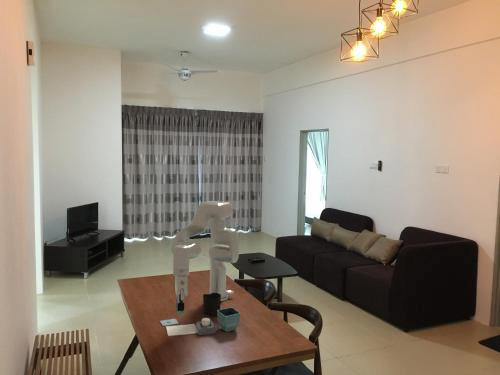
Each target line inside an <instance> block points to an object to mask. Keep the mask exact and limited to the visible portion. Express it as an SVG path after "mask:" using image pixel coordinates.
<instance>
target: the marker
mask: <svg viewBox="0 0 500 375" xmlns="http://www.w3.org/2000/svg"><path fill="white" fill-rule="evenodd" d="M179 296H181V295H179ZM179 299H180V298H179ZM176 300H177V303H178V297H177V296H176ZM176 314H181V315H183V314H184V311H177V310H176Z"/></svg>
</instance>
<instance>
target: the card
mask: <svg viewBox="0 0 500 375" xmlns="http://www.w3.org/2000/svg"><path fill="white" fill-rule="evenodd" d="M159 322H160V324H161V325H162V327H167V326H175V325H179V323H180V322H178V320H177V319H176V318H171V319H164V320H159Z"/></svg>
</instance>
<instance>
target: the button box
mask: <svg viewBox="0 0 500 375" xmlns="http://www.w3.org/2000/svg"><path fill="white" fill-rule="evenodd" d="M195 326H196V329H197V331H198V333H197V334H198V335H199V336H202V335H212V334H216V326H215V324H214V321H213V320H210V326H209V327H202V320H201V321H196V322H195Z"/></svg>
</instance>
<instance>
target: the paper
mask: <svg viewBox="0 0 500 375" xmlns="http://www.w3.org/2000/svg"><path fill="white" fill-rule="evenodd" d="M165 328H166V329H165V330H166V332H167V336H168V337H173V336H174V337H175V336H182V335H185V336H186V335H193V334H198V331H197V329H196V323H192V324H190V323H189V324H180V325H179V324H177V325H168V326H165Z"/></svg>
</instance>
